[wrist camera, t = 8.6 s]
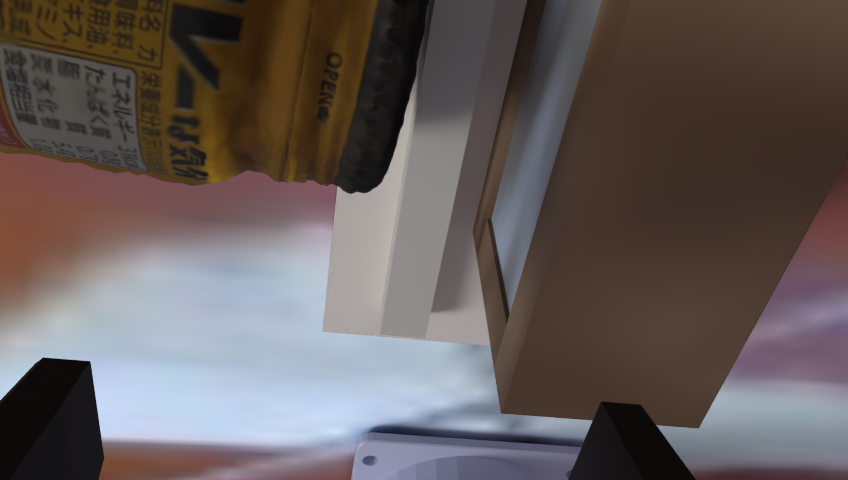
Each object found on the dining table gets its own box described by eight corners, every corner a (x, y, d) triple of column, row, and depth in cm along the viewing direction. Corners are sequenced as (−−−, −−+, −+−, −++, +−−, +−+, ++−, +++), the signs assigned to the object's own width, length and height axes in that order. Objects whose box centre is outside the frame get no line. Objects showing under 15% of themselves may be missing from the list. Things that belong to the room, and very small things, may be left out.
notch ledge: (684, 339, 23) (706, 388, 22) (324, 307, 22) (319, 357, 20) (1136, -596, 12) (1256, -642, 10) (437, -784, 10) (446, -869, 9)
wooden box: (622, 246, 20) (698, 428, 15) (472, 230, 19) (500, 413, 15) (838, -315, 13) (1106, -315, 8) (612, -362, 12) (755, -392, 8)
